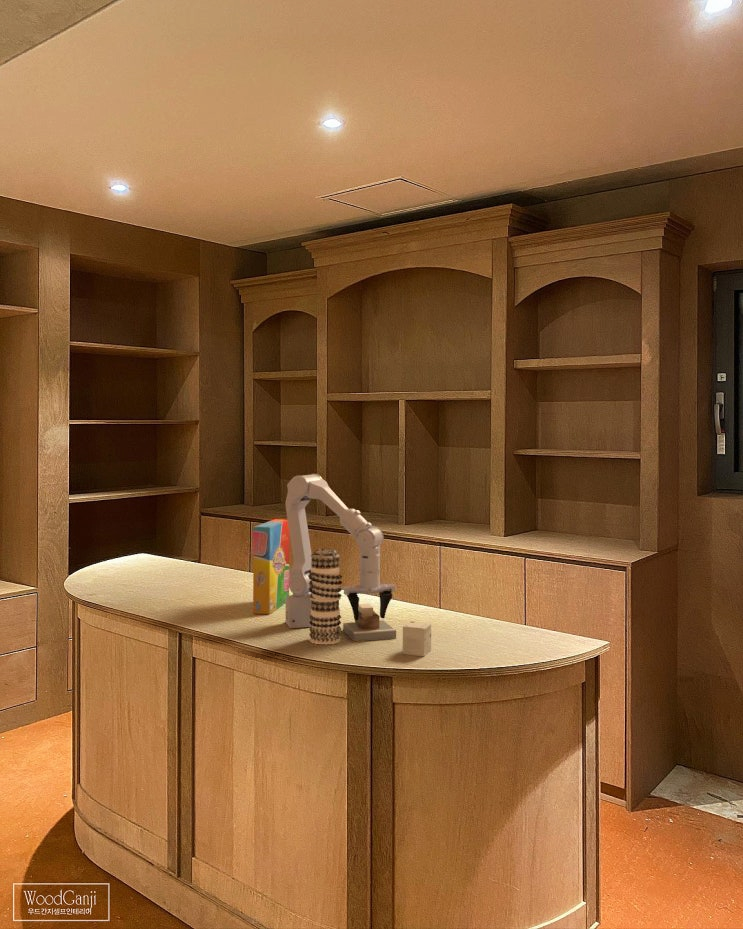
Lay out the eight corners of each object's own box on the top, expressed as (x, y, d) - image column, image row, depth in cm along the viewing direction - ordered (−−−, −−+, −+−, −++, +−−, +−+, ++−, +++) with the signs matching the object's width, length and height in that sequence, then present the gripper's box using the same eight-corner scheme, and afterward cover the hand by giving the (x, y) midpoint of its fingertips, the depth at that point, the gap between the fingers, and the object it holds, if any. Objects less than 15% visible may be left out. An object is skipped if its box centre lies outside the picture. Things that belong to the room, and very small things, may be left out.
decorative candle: (301, 640, 220) (301, 549, 218) (326, 634, 226) (326, 546, 225) (323, 647, 213) (323, 554, 212) (348, 640, 220) (349, 550, 218)
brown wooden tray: (362, 629, 224) (362, 617, 224) (354, 621, 233) (354, 609, 233) (379, 628, 225) (379, 616, 225) (371, 620, 234) (371, 608, 234)
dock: (354, 641, 219) (354, 632, 219) (343, 629, 231) (343, 622, 231) (396, 638, 223) (396, 629, 223) (383, 627, 234) (383, 619, 234)
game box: (269, 615, 247) (269, 527, 246) (252, 614, 248) (252, 526, 247) (289, 600, 268) (289, 518, 266) (273, 599, 269) (273, 518, 267)
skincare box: (424, 657, 206) (424, 628, 205) (401, 654, 208) (402, 626, 208) (431, 650, 211) (431, 623, 211) (409, 648, 214) (409, 620, 213)
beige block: (362, 618, 227) (362, 608, 227) (357, 614, 232) (357, 604, 232) (373, 618, 228) (373, 607, 228) (368, 613, 233) (368, 603, 233)
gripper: (348, 574, 220) (348, 623, 221) (398, 572, 224) (398, 620, 225) (341, 569, 227) (341, 617, 227) (390, 567, 231) (390, 614, 232)
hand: (369, 618), depth 227 cm, fingers open, 7 cm apart
